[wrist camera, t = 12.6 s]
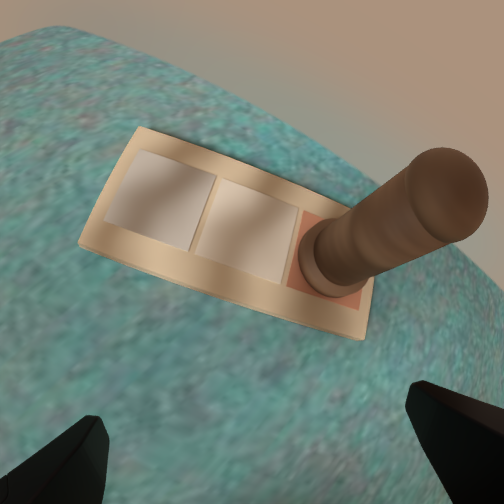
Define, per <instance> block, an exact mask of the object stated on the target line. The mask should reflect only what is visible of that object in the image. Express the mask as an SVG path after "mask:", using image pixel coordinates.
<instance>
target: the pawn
mask: <svg viewBox="0 0 504 504" xmlns="http://www.w3.org/2000/svg"><path fill="white" fill-rule="evenodd" d="M487 208H488V188H487V184H486V180H485V178H484V175H483V173H482V172H481V170H480V169H479V167H478V166H477V164H476V163H475V162H473V160H472V159H471V158H469V157H468V156H466V155H465V154H464V153H462V152H460V151H457V150H455V149H451V148H434V149H430V150H427V151H425V152H423V153H421V154H420V155H418V156H417V157H416V158H415V159H414V160H413V161H412V162H411V163H410V164H409V166H407V167H406V168H405V169H403V170H402V171H401V172H399V173H398V174H397V175H395V176H394V177H393V178H391V179H390V180H389V181H388V182H386V183H385V184H384V185H382V186H381V187H380V188H378V189H377V190H376V191H374V192H373V193H372V194H370V195H369V196H368V197H366V198H365V199H364V200H362V201H361V202H360V203H358V204H357V205H356V206H354V207H353V208H351V209H350V210H349V211H347V212H346V213H345V214H343V215H342V216H341V217H339V218H338V219H336V218H329V219H324V220H322V221H320V222H318V223H317V224H315V225H314V226H313V227H312V228H310V229H309V230H308V231H307V232H306V233H305V234H304V235H303V237H302V239H301V241H300V244H299V247H298V262H299V267H300V270H301V272H302V275H303V277H304V278H305V280H306V281H307V283H308V284H309V285H310V286H311V287H312V288H313V289H314V290H315V291H316V292H318V293H320V294H321V295H324V296H326V297H330V298H341V297H344V296H347V295H350V294H353V293H356V292H358V291H359V290H360V289H362V288H363V287H364V286H365V284H366V283H367V281H368V279H369V278H370V277H373V276H375V275H378V274H380V273H383V272H385V271H388V270H390V269H392V268H395V267H397V266H400V265H402V264H404V263H407V262H409V261H411V260H414V259H416V258H418V257H421V256H423V255H425V254H428V253H430V252H432V251H434V250H437V249H439V248H441V247H443V246H446V245H448V244H450V243H454V242H458V241H461V240H464V239H466V238H467V237H469V236H470V235H472V234H473V233H474V232H475V231H476V230H477V229H478V228H479V226H480V225H481V223H482V222H483V220H484V217H485V215H486V211H487Z"/></svg>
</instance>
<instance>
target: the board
mask: <svg viewBox="0 0 504 504" xmlns="http://www.w3.org/2000/svg"><path fill="white" fill-rule="evenodd" d="M349 210H350V208H348V207H346V206H344V205H342V204H340V203H337V202H335V201H333V200H331V199H329V198H326V197H324V196H322V195H320V194H317V193H315V192H313V191H311V190H308V189H306V188H304V187H301V186H299V185H297V184H294V183H292V182H290V181H287V180H285V179H282V178H280V177H278V176H275V175H273V174H270V173H268V172H265V171H263V170H260V169H258V168H255V167H253V166H250V165H248V164H245V163H243V162H240V161H237V160H235V159H232V158H230V157H227V156H224V155H222V154H219V153H216V152H214V151H211V150H208V149H205V148H203V147H200V146H197V145H194V144H191V143H189V142H186V141H183V140H180V139H177V138H174V137H171V136H168V135H165V134H162V133H159V132H156V131H153V130H150V129H147V128H144V127H141V126H139V127H138V128H137V130H136V131H135V133H134V135H133V136H132V138H131V140H130V141H129V143H128V145H127V146H126V148H125V150H124V152H123V153H122V155H121V157H120V159H119V160H118V162H117V164H116V166H115V168H114V170H113V171H112V173H111V175H110V177H109V179H108V181H107V183H106V185H105V186H104V188H103V190H102V192H101V194H100V196H99V198H98V200H97V202H96V204H95V206H94V208H93V210H92V212H91V215H90V217H89V219H88V221H87V223H86V225H85V227H84V230H83V232H82V234H81V236H80V239H79V241H78V244H79V245H80V247H81V248H83V249H86V250H88V251H91V252H93V253H96V254H98V255H101V256H104V257H106V258H109V259H111V260H114V261H116V262H119V263H122V264H124V265H127V266H129V267H132V268H135V269H137V270H140V271H143V272H146V273H148V274H151V275H154V276H156V277H159V278H162V279H165V280H167V281H170V282H173V283H176V284H179V285H181V286H184V287H187V288H190V289H193V290H196V291H199V292H201V293H204V294H207V295H210V296H213V297H216V298H219V299H222V300H225V301H228V302H231V303H234V304H237V305H240V306H243V307H246V308H249V309H252V310H256V311H259V312H262V313H265V314H268V315H271V316H275V317H278V318H281V319H284V320H287V321H291V322H294V323H297V324H301V325H304V326H307V327H311V328H314V329H318V330H321V331H324V332H328V333H331V334H335V335H338V336H342V337H345V338H349V339H353V340H356V341H359V340H365V334H366V328H367V323H368V317H369V311H370V304H371V297H372V291H373V283H374V276H373V277H370V278H369V279H368V281H367V283H366V284H365V286H364V287H363V288H362V289H360V290H359V291H358V292H356V293H353V294H350V295H347V296H344V297H341V298H330V297H326V296H324V295H321V294H320V293H318V292H316V291H315V290H314V289H313V288H312V287H311V286H310V285H309V284H308V283H307V281H306V280H305V278H304V277H303V275H302V272H301V270H300V267H299V262H298V247H299V244H300V241H301V239H302V237H303V235H304V234H305V233H306V232H307V231H308V230H309V229H310V228H312V227H313V226H314V225H315V224H317V223H318V222H320V221H322V220H324V219H329V218H336V219H338V218H339V217H341V216H342V215H343V214H345V213H346V212H347V211H349Z"/></svg>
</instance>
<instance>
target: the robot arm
mask: <svg viewBox="0 0 504 504" xmlns="http://www.w3.org/2000/svg"><path fill="white" fill-rule="evenodd" d="M405 409H406V412H407V414H408V416H409V419H410V421H411V423H412V426H413V428H414V430H415V433H416V435H417V437H418V440H419V442H420V444H421V446H422V448H423V450H424V452H425V454H426V456H427V457H428V459H429V461H430V463H431V465H432V466H433V468H434V470H435V472H436V473H437V475H438V477H439V479H440V481H441V483H442V484H443V486H444V488H445V490H446V492H447V494H448V495H449V497H450V499H451V501H452V503H453V504H504V409H502V408H499V407H496V406H494V405H491V404H488V403H485V402H482V401H479V400H476V399H473V398H471V397H468V396H465V395H462V394H459V393H457V392H454V391H451V390H448V389H446V388H443V387H440V386H438V385H435V384H432V383H430V382H427V381H424V380H421V381H418V382H414V383H412V384H411V385H410V388H409V392H408V395H407V399H406V403H405ZM108 452H109V436H108V433H107V431H106V429H105V426H104V424H103V421H102V419H101V418H100V417H99V416H93V415H86V416H84V417H83V418H82V419H80V420H79V421H78V422H77V423H75V424H74V425H73V426H71V427H70V428H69V429H67V430H66V431H65V432H63V433H62V434H61V435H59V436H58V437H57V438H55V439H54V440H53V441H51V442H50V443H49V444H47V445H46V446H45V447H43V448H42V449H40V450H39V451H38V452H36V453H35V454H34V455H32V456H31V457H30V458H28V459H27V460H26V461H24V462H23V463H21V464H20V465H19V466H17V467H16V468H15V469H13V470H12V471H10V472H9V473H8V474H7V475H5V476H3V477H2V478H1V479H0V504H102V500H103V495H104V490H105V483H106V473H107V462H108Z"/></svg>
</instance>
